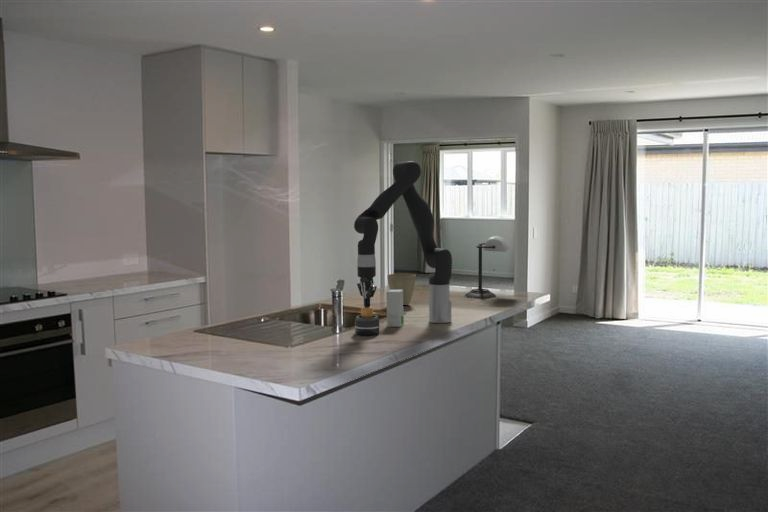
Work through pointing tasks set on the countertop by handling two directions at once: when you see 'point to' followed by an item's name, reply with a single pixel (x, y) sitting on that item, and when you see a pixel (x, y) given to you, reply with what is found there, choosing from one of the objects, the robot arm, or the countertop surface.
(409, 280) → the plant pot
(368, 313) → the wooden block
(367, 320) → the barrel
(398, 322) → the skincare box
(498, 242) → the lamp
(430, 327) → the countertop surface
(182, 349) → the countertop surface
